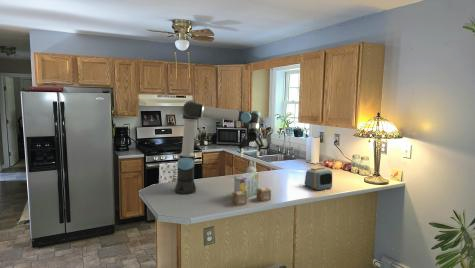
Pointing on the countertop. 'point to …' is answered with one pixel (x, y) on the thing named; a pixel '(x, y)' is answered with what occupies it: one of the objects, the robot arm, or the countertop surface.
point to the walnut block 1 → (239, 198)
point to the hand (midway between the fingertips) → (249, 156)
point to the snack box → (247, 183)
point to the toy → (251, 168)
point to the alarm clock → (318, 178)
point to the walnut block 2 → (263, 194)
